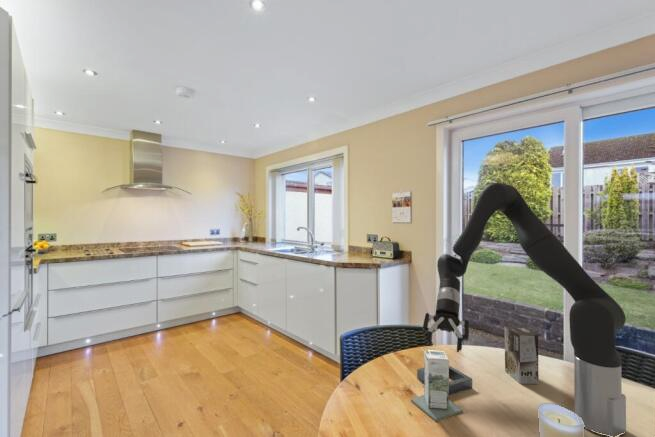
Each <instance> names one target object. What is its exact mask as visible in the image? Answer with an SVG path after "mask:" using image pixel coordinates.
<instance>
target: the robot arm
mask: <svg viewBox="0 0 655 437" xmlns="http://www.w3.org/2000/svg"><path fill="white" fill-rule="evenodd" d="M518 190H519V189H517V188H516V187H515V186H513V185H511V184H508V183H503V182H502V183H501V182H491V183H489V184H487V185H485V187H484V188H483V189H482V191H481V193H480V195H479V197H478V199H477V202H476V204H475V206H474V208H473V211H472V213H471V214H470V215H471V216H470V217H469V219H468V221H467V224H466V225H465V227H464V228H463V231H462V232H461V233H460V235H459V237H458V238H457V239H456V241H455V243H453V245H452V252H454V254H455V255H457V256H458V257H455V256H452V255H450V254H448V253H444V254H442V255H440V257H438V259H437V265H436V267H437V273H438V277H439V288H438V293H437V299H436V307H435V314H434V315H431V314H430V313H429V312H426V313H425V316H424V319H423V324H422V331H423V332H425V333H427V336H426V342H427V344H428V346H430V347H431V346H432V342H433V335H434V333H435V332H437V331H438V330H440V331H441V332H442V331H443V332H444V331H446V332H447V333H451V332H452V333H453V334H454V335H455V337H456V339H457V341H456V342H457V343H456V352H457V353H460V352H461V351H462V347H463V342H464V341H466V342H467V341H469V338H470V334H469V333H470V332H469V325H470V324H469V323H470V322H469V320H467V319H465V320H460V318H459V317H460V305H461V302H460V301H461V296H460V294H461V293H460V292H461V281H460V279H459V278H461V277H463V276H465V274H466V272H467V269H468V265H469V261H470V260H471V257H472V255H473V254H474V252H475V251H476V249H477V248H478V246H479V245H480V243H481V241H482V239H483V236H484V232H485V228H486V225H487V223H488V222H489V220H490V219H491V217H492V216H493V215H494V214H495V213H496V212H497V211H500V212H501V213H502V214H503V215H504V216H505V218H507V219H508V220H509V222H510V223H511V224H512V226H513V228H514V229H515V230H514V231H515V233H516V235H517V239H518V242H519V245H520V247H521V248H522V250H523V251H524V253H525V254H526V255H527V257H528V259H530V261H531V262H532V263H533V264H534V265H535V266H536V267H537V269H539V270H541V272H543V273H545V275H547V276H548V277H549V278H551V279H553V281H556V283H558V284H559V285H561V286H562V288H564V290H565V291H566V292H567V293H568V294H569V295H570V297H571V298H572V299H573V301H574V303H573V304H572V305H571V307H570V310H569V318H568V319H569V336H570V343H571V346H572V348H573V370H574V372H573V375H574V376H573V380H574V382H573V383H574V384H573V387H574V389H573V390H574V398H573V400H574V409H573V411H574V414H575V413H576V414H577V415H578V416H579V417H581V418H582V420H583V422H584V425H585V428H584V429H586V430H587V429H589V430H593V431H595V432H598V433H602V434H606V435H610V436H613V437H615V436H617V435H619V434H621V433H624V432H625V431H626V432H627V403H626V402H627V397H626V395H625V393H622V392H623V391H622V390H623V389H622V388H623V387H622V386H623V384H622V355H621V353H620V352H619V351H618V350H617V349H616V335H615V333H616V332H617V331H618V330H620V329H622V328H623V327H624V326H625V324H626V315H625V314H626V313H625V311H624V310H623V308H622V306H621V305H620V304H619V303H618V302H617V301H616V300H615V299H614V298H613V297H612V296H611V295H610V294H609V293H607V292H606V291H605V290H604V288H602V286H600V285H599V284H598V283H597V282H596V281H595V280H593V278H592V277H591V276H590V275H589V274H588V273H587V272H586V270H585V269H584V268H583V267H582V266H581V264H580V263H579V262H578V260H576V259H575V257H574V256H573V255H572V254H571V253H570V251H568V249H567V248H566V246H564V244H563V243H562V241H560V240H559V238H558V237H556V235H555V234H554V233H553V232H552V231H551V230H550V229H549V228H548V226H547V225H546V224H545V223H544V222H543V221H542V220H541V219H540V217H538V216H537V214H535V213H534V212H533V210H532V209H531V208H530V206H529V205H528V204H527V202H526V200H525V199H524V197H523V196H522V194H521V193H520V192H519V191H518ZM459 257H460V258H459ZM432 320H433V322H434V323H433V324H432V325H431V326H430V327H429V324H430V323H429V322H431V321H432ZM459 326H461V328H463V329H464V331H463V332H464V334H462V333H461V332H460V330H459V328H458V327H459ZM589 430H588V431H589Z"/></svg>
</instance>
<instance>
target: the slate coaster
mask: <svg viewBox="0 0 655 437" xmlns="http://www.w3.org/2000/svg"><path fill="white" fill-rule="evenodd" d="M410 402H412V404H414V405H415V406H417V408H419V409H420V410H421V411H422V412H423V413H425V414H426V415H427V416H429V417H430V419H432V420H433V421H435V422H437V421H441V420H444V419H446V418H449V417H452V416H454V415H457V414H458V415H459V414H461V413H463V412H464V409H462V408H461V407H460V406H458V405H457V404H456V403H454V402H453V401H451V400H450V399H449V409H434V408H428V405H427V402H426V399H425V397H424V394H422V395H419V396H417V397H416V396H415V397H413V398H410Z"/></svg>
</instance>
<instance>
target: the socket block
mask: <svg viewBox="0 0 655 437" xmlns="http://www.w3.org/2000/svg"><path fill="white" fill-rule="evenodd" d="M416 371H417V372H416V373H417V374H416V376H417V377H416V378H417V379H418V380H419V381H420V382H422V383H423V384H424V367H421V368H418V369H417V370H416ZM449 378H450V379H452V381H449V396H452V395H454V394H457V393H462V392H463V391H468V390H470V389H473V378H472V377H471V376H468V375H466V374H464V373H463V372H461V371H460V370H458V369H455V368H454V367H453V366H451V365H449Z"/></svg>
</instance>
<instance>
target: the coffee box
mask: <svg viewBox="0 0 655 437" xmlns="http://www.w3.org/2000/svg"><path fill="white" fill-rule="evenodd" d="M503 327H504V366H505V367H504V371H505V373H507V374H508V375H509V374H510V377H512V378H513V379H514V380H515V381H517V383H519V384H520V385H539V381H540V380H539V377H540V376H539V335H538V333H536V332H533V331H532V330H529V329H528V328H526V327H524V326H522V325H511V326H507V325H505V326H503Z"/></svg>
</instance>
